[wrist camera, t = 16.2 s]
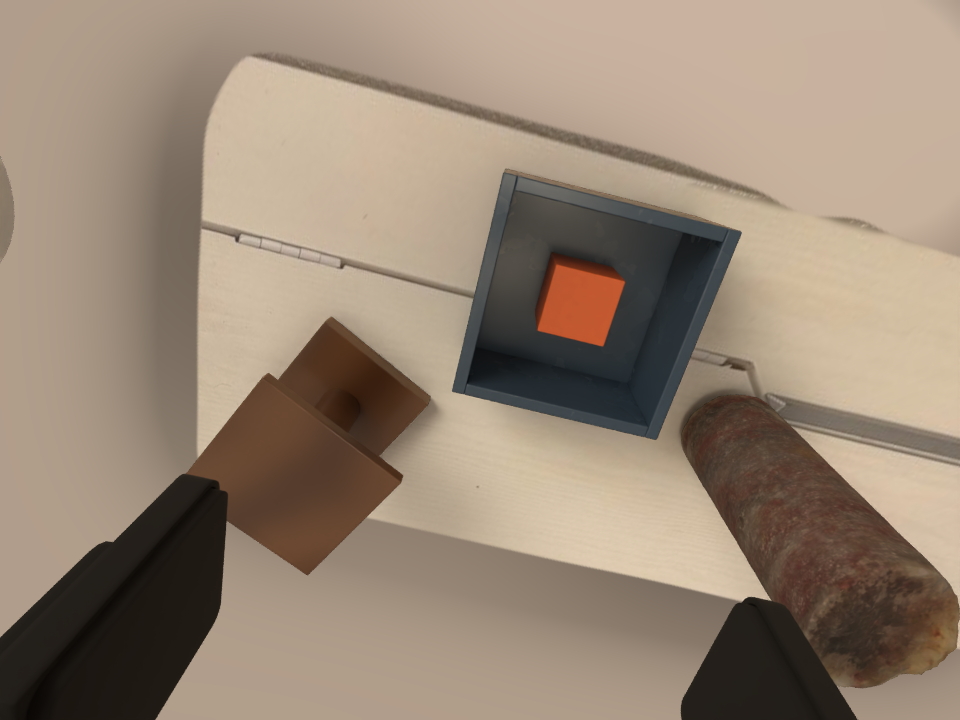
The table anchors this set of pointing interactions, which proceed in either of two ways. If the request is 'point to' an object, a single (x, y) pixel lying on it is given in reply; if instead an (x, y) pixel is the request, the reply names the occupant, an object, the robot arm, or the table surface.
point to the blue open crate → (638, 317)
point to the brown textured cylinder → (821, 546)
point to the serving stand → (313, 447)
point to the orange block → (578, 299)
